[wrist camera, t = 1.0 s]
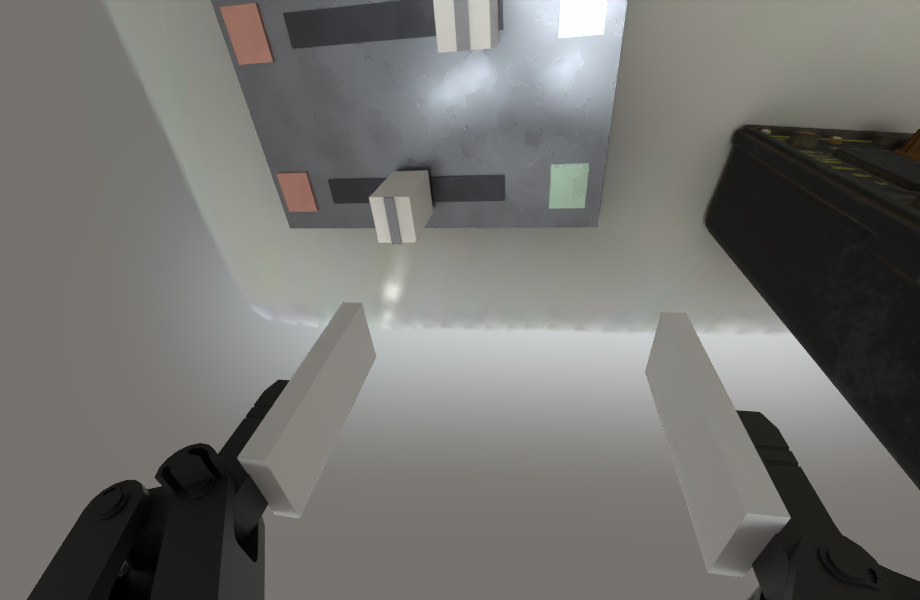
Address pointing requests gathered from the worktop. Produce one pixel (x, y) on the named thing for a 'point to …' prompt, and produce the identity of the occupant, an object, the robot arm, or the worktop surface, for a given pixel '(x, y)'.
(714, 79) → the worktop surface
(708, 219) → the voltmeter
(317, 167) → the breaker panel
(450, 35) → the block
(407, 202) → the block
